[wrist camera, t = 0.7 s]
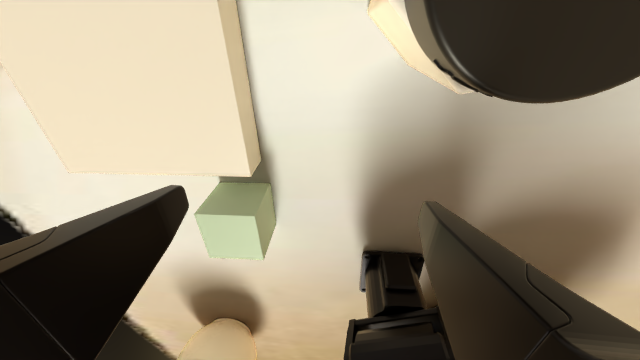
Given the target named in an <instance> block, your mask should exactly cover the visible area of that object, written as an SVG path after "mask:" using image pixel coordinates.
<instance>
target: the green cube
mask: <svg viewBox="0 0 640 360" xmlns="http://www.w3.org/2000/svg"><path fill="white" fill-rule="evenodd" d="M194 215H195V218H196V221H197V224H198V226H199V229H200V232H201V235H202V237H203V240H204V243H205V246H206V249H207V251H208V254H209V257H210V258H230V259H250V260H264V257H265V255H266V252H267V249H268V246H269V243H270V240H271V237H272V234H273V231H274V229H275V226H276V219H275V212H274V205H273V198H272V191H271V185H270V183H232V182H220V183H219V184H218V185H217V186H216V188H215V189H214V190H213V191H212V193H211V194H210V195H209V196H208V198H207V199H206V200H205V201H204V203H203V204H202V205H201V206H200V208H199V209H198V210H197V211H196V213H195V214H194Z"/></svg>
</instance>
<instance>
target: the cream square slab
mask: <svg viewBox="0 0 640 360" xmlns="http://www.w3.org/2000/svg"><path fill="white" fill-rule="evenodd" d="M0 63H1V64H2V66H3V68H4V69H5V71H6V72H7V74H8V76H9V77H10V79H11V81H12V82H13V84H14V85H15V87H16V89H17V90H18V92H19V93H20V95H21V97H22V98H23V100H24V102H25V103H26V105H27V106H28V108H29V110H30V111H31V113H32V115H33V116H34V118H35V119H36V121H37V123H38V124H39V126H40V127H41V129H42V131H43V132H44V134H45V136H46V137H47V139H48V140H49V142H50V144H51V145H52V147H53V149H54V150H55V152H56V153H57V155H58V157H59V158H60V160H61V161H62V163H63V165H64V166H65V168H66V170H67V171H68V173H99V174H145V175H192V176H238V177H251V176H252V174H253V172H254V171H255V169H256V168H257V166H258V165H259V163H260V161H261V155H260V149H259V143H258V136H257V130H256V124H255V117H254V111H253V105H252V99H251V92H250V86H249V80H248V74H247V67H246V61H245V55H244V49H243V42H242V36H241V30H240V24H239V17H238V11H237V5H236V0H0Z"/></svg>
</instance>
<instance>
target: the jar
mask: <svg viewBox="0 0 640 360" xmlns="http://www.w3.org/2000/svg"><path fill="white" fill-rule="evenodd" d="M367 13H368V15H369V17H370V18H371V19H372V20H373V22H374V23H375V24H376V25H377V27H378V28H379V29H380V30H381V32H382V33H383V34H384V35H385V37H386V38H387V39H388V41H389V42H390V43H391V44H392V46H393V47H394V48H395V49H396V51H397V52H398V53H399V54H400V56H401V57H402V58H403V59H404V61H405V62H406V63H407V65H409V66H410V67H412V68H414V69H416V70H417V71H419V72H421V73H423V74H424V75H426V76H428V77H430V78H431V79H433V80H435V81H437V82H438V83H440V84H442V85H444V86H445V87H447V88H449V89H451V90H452V91H454V92H456V93H458V94H466V93H470V92H474V91H476V92H480V93H482V94H485V95H487V96H491V97H493V96H494V97H497V98H501V99H504V100H509V101H514V102H522V103H554V102H563V101H568V100H574V99H579V98H582V97H586V96H590V95H594V94H597V93H600V92H603V91H606V90H609V89H611V88H614V87H616V86H619V85H621V84H624V83H626V82H628V81H631V80H633V79H635V78H637V77H639V76H640V0H370V3H369V6H368V10H367Z"/></svg>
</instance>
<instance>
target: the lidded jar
mask: <svg viewBox="0 0 640 360" xmlns="http://www.w3.org/2000/svg"><path fill="white" fill-rule="evenodd" d="M177 360H257V351H256V345H255V342H254V339H253V337H252V335H251V331H250V329H249V328H248V326H247V325H245V324H244V323H242V322H240V321H238V320H235V319H230V318H219V319H216V320H214V321H213V322H212V323H210V324H208V325H206V326H204V327H203V328H201V329H200V330H199V331H197V332H196V333H195V334H194V335H193V336H192V337H191V338H190V340H189V341H188V342H187V344H186V345H185V347H184V348H183V350H182V351H181V353H180V355H179V357H178V359H177Z"/></svg>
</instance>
